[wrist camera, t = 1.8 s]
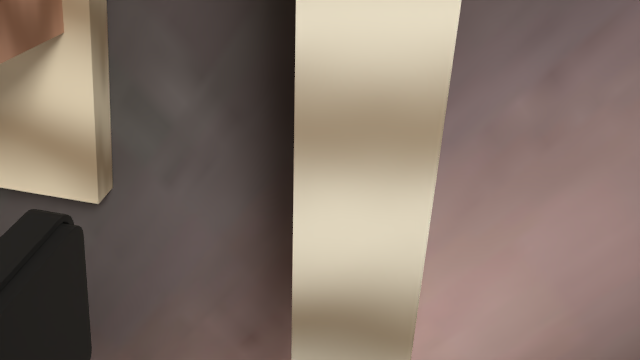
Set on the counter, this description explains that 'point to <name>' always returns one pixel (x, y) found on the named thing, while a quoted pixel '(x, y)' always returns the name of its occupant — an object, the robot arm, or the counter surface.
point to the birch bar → (365, 170)
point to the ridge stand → (55, 98)
